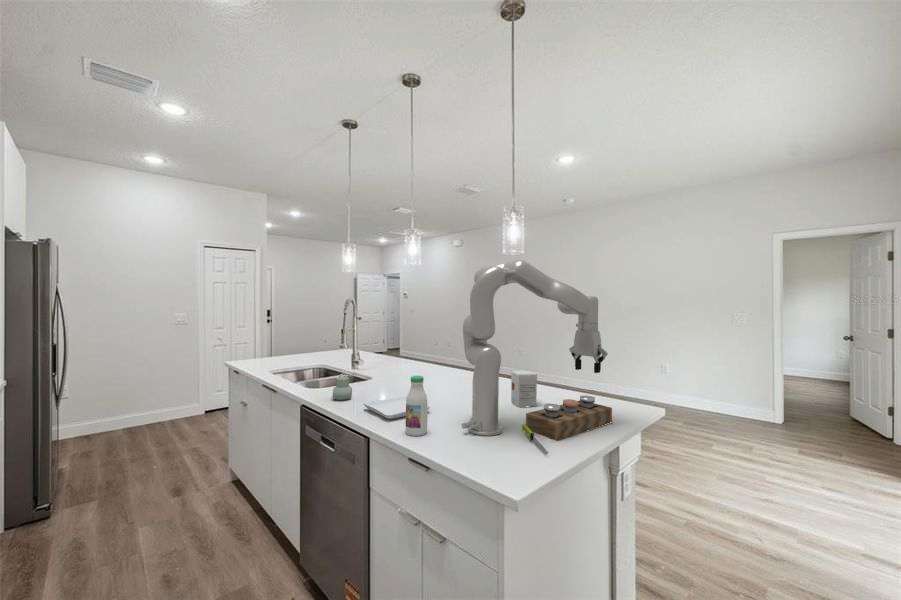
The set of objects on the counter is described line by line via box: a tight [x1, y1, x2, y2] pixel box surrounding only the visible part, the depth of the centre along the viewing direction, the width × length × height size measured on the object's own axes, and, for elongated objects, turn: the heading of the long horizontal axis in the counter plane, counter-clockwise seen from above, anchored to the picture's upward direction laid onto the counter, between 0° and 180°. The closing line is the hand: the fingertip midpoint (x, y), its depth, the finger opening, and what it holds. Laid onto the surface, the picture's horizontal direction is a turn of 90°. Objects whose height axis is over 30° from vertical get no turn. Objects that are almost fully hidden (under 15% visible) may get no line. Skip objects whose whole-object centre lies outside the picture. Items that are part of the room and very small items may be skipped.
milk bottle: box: [405, 375, 428, 437], centre depth 137 cm, size 8×8×20 cm
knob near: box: [543, 403, 560, 419], centre depth 140 cm, size 6×6×6 cm
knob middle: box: [562, 399, 579, 414], centre depth 146 cm, size 6×6×6 cm
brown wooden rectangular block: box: [525, 399, 613, 442], centre depth 146 cm, size 34×14×6 cm, turn 127°
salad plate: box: [363, 396, 431, 420], centre depth 162 cm, size 21×21×3 cm
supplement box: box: [510, 370, 538, 408], centre depth 176 cm, size 9×9×15 cm
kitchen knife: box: [521, 423, 549, 455], centre depth 127 cm, size 22×1×3 cm, turn 9°
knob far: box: [579, 395, 596, 409], centre depth 153 cm, size 6×6×6 cm
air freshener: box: [332, 376, 353, 401], centre depth 182 cm, size 11×8×10 cm
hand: (587, 370), depth 153 cm, fingers open, 7 cm apart
